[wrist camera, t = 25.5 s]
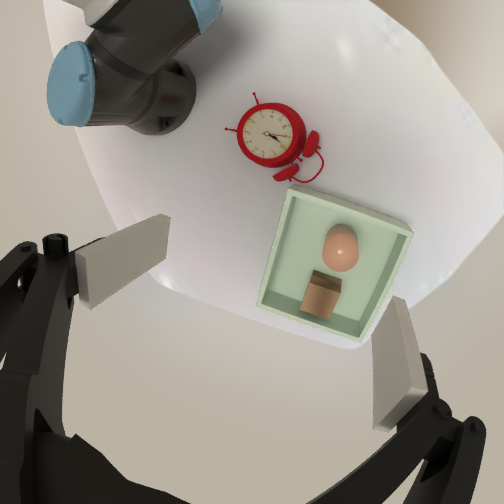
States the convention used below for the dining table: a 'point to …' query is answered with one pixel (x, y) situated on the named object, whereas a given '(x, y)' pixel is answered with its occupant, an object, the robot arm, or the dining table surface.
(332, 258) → the terracotta canister
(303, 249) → the tray
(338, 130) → the dining table surface
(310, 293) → the walnut cube
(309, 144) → the alarm clock
